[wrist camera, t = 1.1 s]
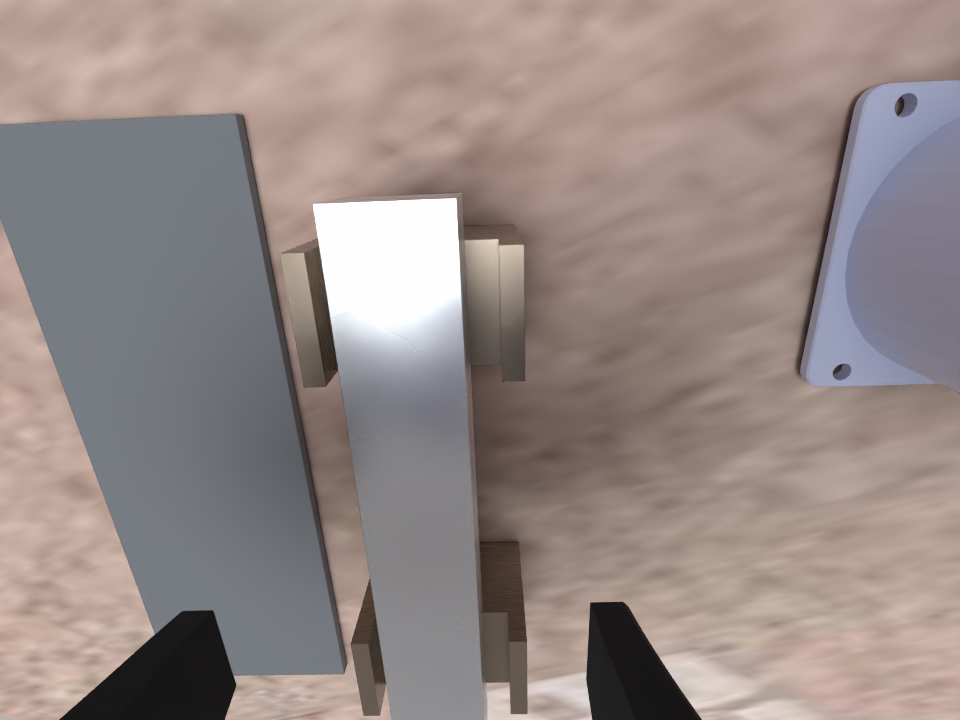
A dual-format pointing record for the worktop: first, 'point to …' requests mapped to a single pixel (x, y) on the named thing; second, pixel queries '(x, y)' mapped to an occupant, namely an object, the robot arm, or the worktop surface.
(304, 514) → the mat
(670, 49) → the worktop surface
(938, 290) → the robot arm
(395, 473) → the rail
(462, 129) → the worktop surface
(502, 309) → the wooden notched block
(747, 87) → the worktop surface
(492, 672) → the post
